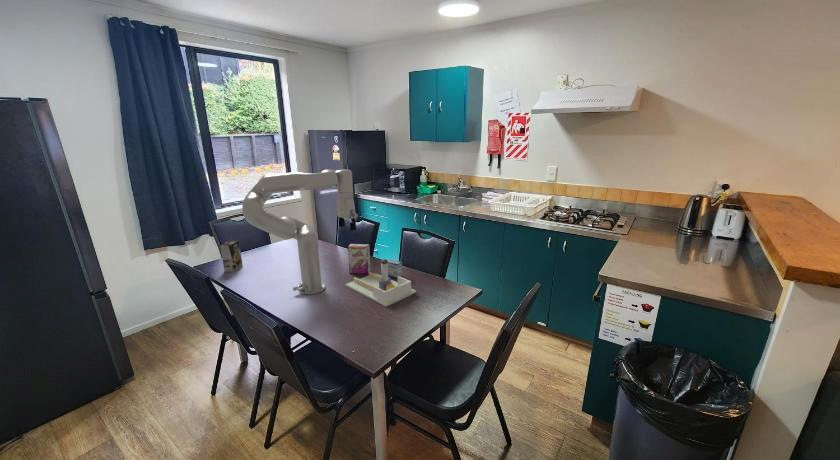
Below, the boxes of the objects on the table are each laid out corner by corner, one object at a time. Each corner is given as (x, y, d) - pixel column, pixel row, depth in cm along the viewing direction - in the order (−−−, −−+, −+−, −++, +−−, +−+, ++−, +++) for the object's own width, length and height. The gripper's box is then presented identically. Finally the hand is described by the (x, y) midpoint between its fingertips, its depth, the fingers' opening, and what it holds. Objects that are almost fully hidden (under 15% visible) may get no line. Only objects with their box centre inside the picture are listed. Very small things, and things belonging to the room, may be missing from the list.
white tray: (385, 306, 158) (385, 295, 157) (345, 285, 180) (344, 275, 178) (416, 292, 172) (416, 281, 170) (375, 274, 193) (375, 264, 192)
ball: (389, 286, 166) (383, 284, 169) (390, 294, 167) (384, 292, 170) (396, 283, 169) (390, 281, 172) (397, 291, 170) (391, 289, 173)
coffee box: (235, 271, 198) (230, 245, 193) (224, 271, 198) (219, 245, 193) (243, 265, 206) (239, 240, 202) (232, 265, 206) (228, 240, 202)
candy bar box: (349, 273, 195) (347, 246, 190) (351, 270, 200) (350, 243, 195) (368, 274, 194) (367, 246, 189) (370, 271, 198) (369, 244, 194)
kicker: (382, 291, 170) (381, 263, 165) (378, 289, 172) (377, 261, 168) (391, 287, 174) (391, 259, 170) (387, 286, 176) (386, 258, 172)
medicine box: (386, 276, 191) (385, 261, 189) (390, 273, 195) (390, 259, 193) (398, 278, 188) (397, 264, 186) (402, 276, 192) (402, 261, 189)
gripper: (329, 193, 173) (331, 226, 178) (349, 198, 161) (351, 233, 166) (341, 191, 178) (344, 223, 183) (362, 196, 167) (363, 230, 171)
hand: (347, 228), depth 174 cm, fingers open, 9 cm apart
